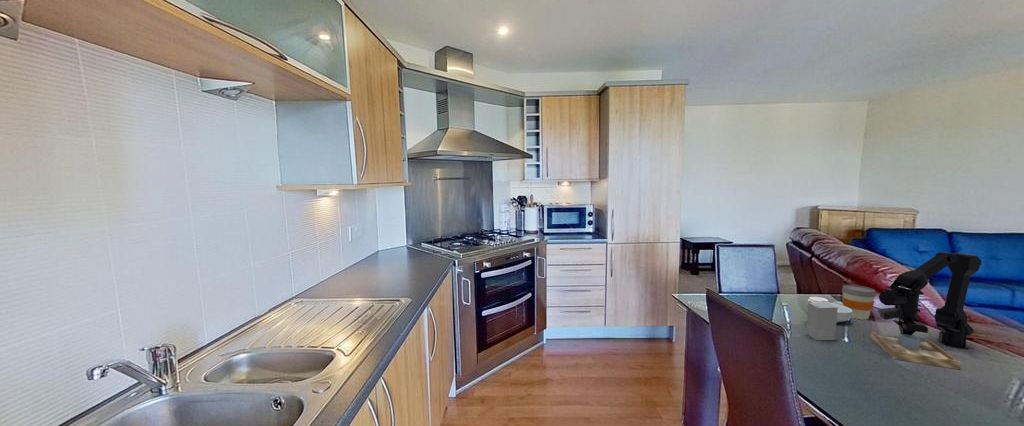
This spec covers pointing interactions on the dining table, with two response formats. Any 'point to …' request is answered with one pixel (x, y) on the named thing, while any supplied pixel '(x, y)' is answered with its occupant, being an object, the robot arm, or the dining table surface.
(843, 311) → the cereal bowl
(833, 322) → the skincare box
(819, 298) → the paper cup
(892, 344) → the tray
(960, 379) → the dining table surface
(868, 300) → the reusable coffee cup
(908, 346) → the slate block
